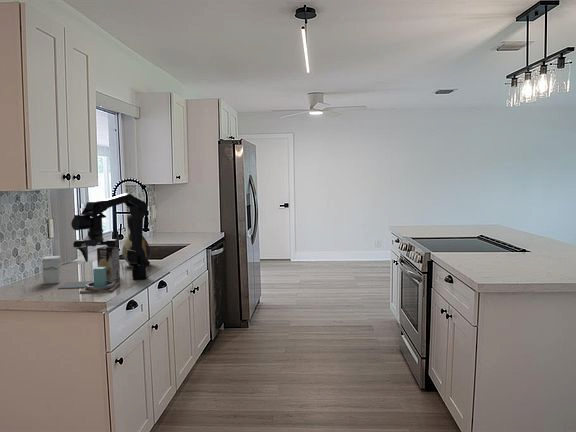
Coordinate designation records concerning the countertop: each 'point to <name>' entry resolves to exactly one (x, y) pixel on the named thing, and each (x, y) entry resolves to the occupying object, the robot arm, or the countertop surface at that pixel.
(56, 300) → the countertop surface
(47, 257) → the supplement box
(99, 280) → the teal post
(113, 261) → the coffee box
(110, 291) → the walnut stand
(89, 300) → the countertop surface
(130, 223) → the ceramic jug
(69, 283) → the charcoal mat
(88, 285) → the metal ring
